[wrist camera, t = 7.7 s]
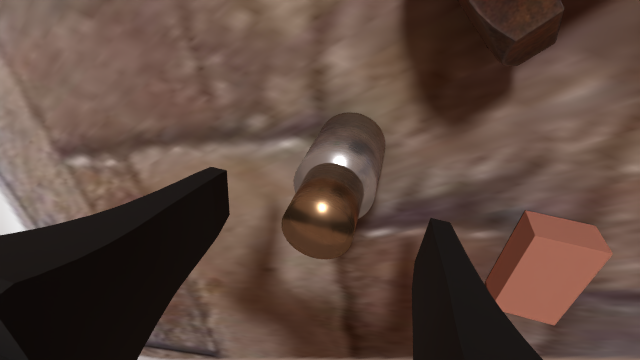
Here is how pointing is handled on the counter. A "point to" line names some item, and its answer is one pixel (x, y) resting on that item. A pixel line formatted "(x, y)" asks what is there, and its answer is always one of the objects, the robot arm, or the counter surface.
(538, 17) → the bolt
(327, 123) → the two-tone metal capsule
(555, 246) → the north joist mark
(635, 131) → the counter surface
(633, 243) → the counter surface
